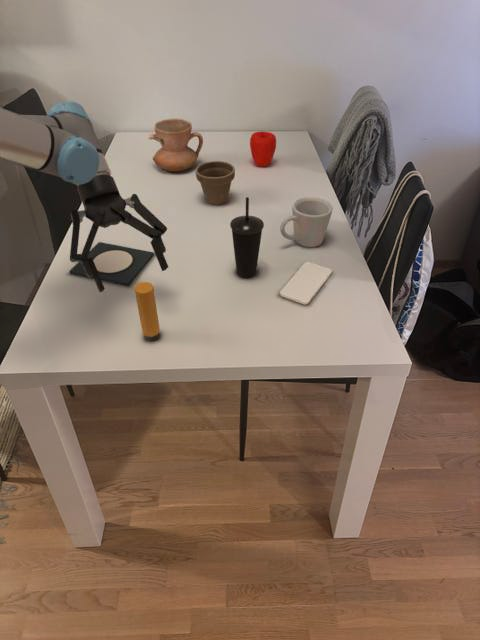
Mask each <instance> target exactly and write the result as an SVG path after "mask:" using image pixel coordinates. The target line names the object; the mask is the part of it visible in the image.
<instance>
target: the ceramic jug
mask: <svg viewBox="0 0 480 640" xmlns="http://www.w3.org/2000/svg"><path fill="white" fill-rule="evenodd" d="M153 127H154V129H153V130H154V132H155V134H154V133H151V134H148V135H147V138H148V140H154V141H156V142H158V143H159V144H160V145H161V147H160V148H159V149H158V150H157V151H156V152H155V154H154V155H153V156H152V161H153V162H154V164H155V165H156V166H157V167H158V168H160V169H161V170H163V171H168V172H181V171H186V170H188V169H191V168H193V166H195V165H196V164H197V161H198V158H199V155H200V152H201V150H202V148H203V145H204V144H203V143H204V137H203V135H202V134H201V133H200V132H198V131H193V132H192V129H193V125H192V122H191V121H190V120H188V119H183V118H166V119H162V120H159V121H157V122H155V123H154V125H153ZM195 137H197V139H198V146H197V148H196V151H195V150H194V149H193V148H191V147H189V146H188V144H189V142H190V141H191V140H192V139H193V138H195Z"/></svg>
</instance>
